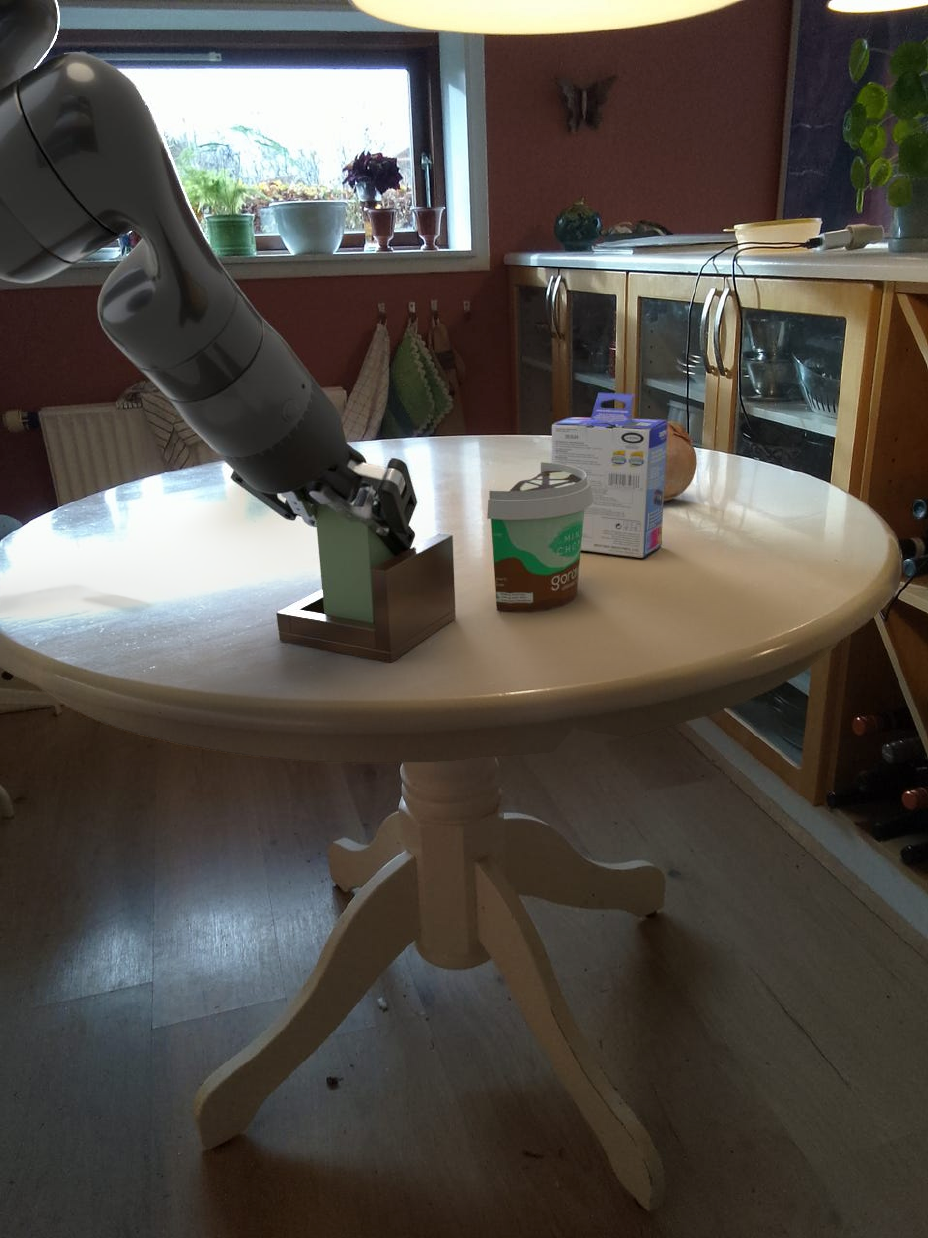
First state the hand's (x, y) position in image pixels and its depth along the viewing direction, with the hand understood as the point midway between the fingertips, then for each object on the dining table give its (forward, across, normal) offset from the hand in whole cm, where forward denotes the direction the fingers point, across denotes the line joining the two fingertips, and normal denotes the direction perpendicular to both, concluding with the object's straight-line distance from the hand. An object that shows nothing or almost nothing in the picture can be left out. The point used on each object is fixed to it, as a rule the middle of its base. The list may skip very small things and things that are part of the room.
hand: (376, 542), depth 68 cm
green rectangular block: (+2, 0, +5) cm, 5 cm away
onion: (+37, -8, -28) cm, 47 cm away
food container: (+12, -10, -3) cm, 16 cm away
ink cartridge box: (+23, -9, -14) cm, 28 cm away
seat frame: (+3, 0, +6) cm, 7 cm away
